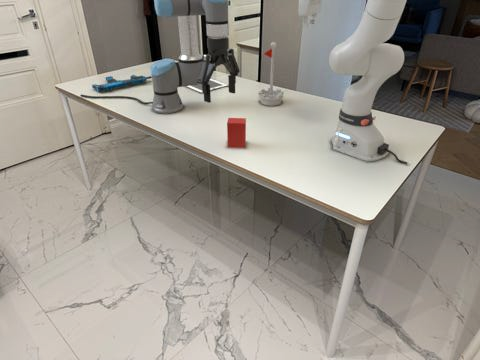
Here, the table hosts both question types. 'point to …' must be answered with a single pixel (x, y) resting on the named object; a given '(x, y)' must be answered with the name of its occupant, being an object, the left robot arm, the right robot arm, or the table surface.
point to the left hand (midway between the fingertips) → (220, 97)
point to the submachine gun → (119, 83)
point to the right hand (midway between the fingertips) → (308, 25)
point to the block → (236, 132)
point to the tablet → (213, 85)
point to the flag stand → (271, 84)
